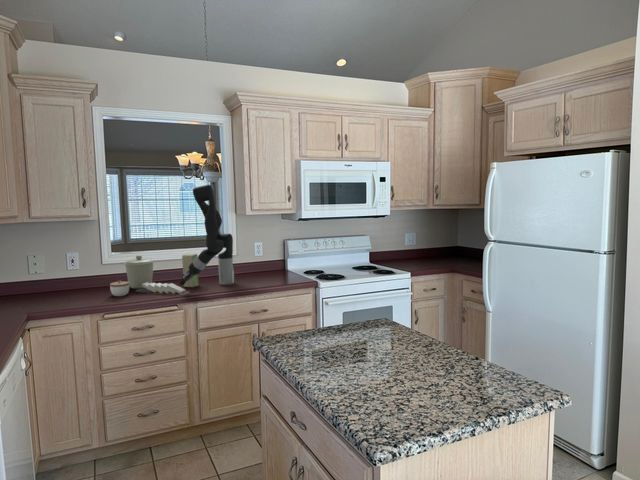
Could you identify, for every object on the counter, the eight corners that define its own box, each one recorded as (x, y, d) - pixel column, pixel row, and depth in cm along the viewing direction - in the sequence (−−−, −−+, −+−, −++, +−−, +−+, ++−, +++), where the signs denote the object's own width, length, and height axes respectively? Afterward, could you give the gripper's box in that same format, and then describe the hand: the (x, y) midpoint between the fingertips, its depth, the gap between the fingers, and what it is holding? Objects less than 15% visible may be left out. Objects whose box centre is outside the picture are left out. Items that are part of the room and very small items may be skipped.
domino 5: (179, 289, 273) (165, 282, 275) (174, 291, 268) (160, 284, 270) (178, 291, 273) (165, 285, 275) (174, 293, 268) (160, 287, 270)
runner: (190, 292, 273) (190, 291, 273) (182, 296, 265) (182, 295, 265) (156, 291, 280) (156, 290, 279) (147, 294, 271) (147, 293, 271)
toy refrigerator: (194, 288, 286) (192, 255, 284) (183, 287, 288) (181, 255, 286) (199, 285, 294) (198, 253, 292) (189, 285, 296) (187, 253, 293)
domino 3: (167, 289, 275) (153, 282, 277) (162, 290, 270) (148, 284, 272) (166, 291, 275) (152, 284, 277) (161, 293, 271) (147, 286, 273)
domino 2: (160, 288, 276) (147, 282, 278) (155, 290, 271) (142, 283, 273) (160, 291, 276) (146, 284, 279) (155, 292, 272) (141, 286, 274)
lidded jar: (111, 298, 261) (109, 283, 260) (110, 295, 271) (109, 279, 270) (131, 296, 266) (129, 280, 265) (129, 293, 276) (128, 277, 274)
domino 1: (154, 288, 277) (140, 288, 280) (149, 290, 273) (135, 290, 275) (154, 290, 278) (141, 291, 280) (149, 292, 273) (135, 292, 275)
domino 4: (173, 289, 274) (159, 282, 276) (168, 291, 269) (154, 284, 271) (172, 291, 274) (159, 285, 276) (167, 293, 269) (154, 286, 271)
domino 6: (185, 289, 272) (171, 283, 274) (181, 291, 267) (166, 284, 269) (184, 292, 272) (171, 285, 274) (180, 294, 267) (166, 287, 269)
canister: (122, 291, 281) (120, 257, 278) (128, 285, 298) (126, 253, 296) (153, 289, 284) (151, 256, 282) (157, 283, 302) (155, 252, 299)
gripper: (199, 258, 271) (183, 277, 276) (188, 262, 259) (170, 282, 263) (208, 267, 271) (191, 286, 275) (196, 271, 258) (179, 291, 263)
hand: (181, 284), depth 269 cm, fingers closed
